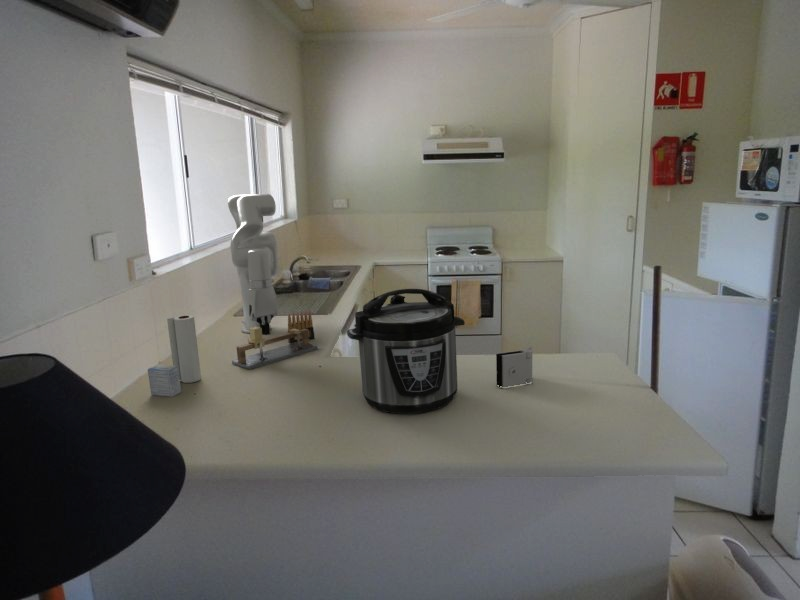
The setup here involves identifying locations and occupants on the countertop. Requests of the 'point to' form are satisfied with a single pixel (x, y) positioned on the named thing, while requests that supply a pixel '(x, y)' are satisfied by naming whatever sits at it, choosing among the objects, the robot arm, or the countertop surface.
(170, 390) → the pale blue-grey upright block
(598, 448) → the countertop surface
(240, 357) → the bar
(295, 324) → the ammunition clip
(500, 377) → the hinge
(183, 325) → the paper towel roll
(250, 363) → the bolt-hole plate
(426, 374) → the pressure cooker
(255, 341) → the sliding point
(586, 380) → the countertop surface
